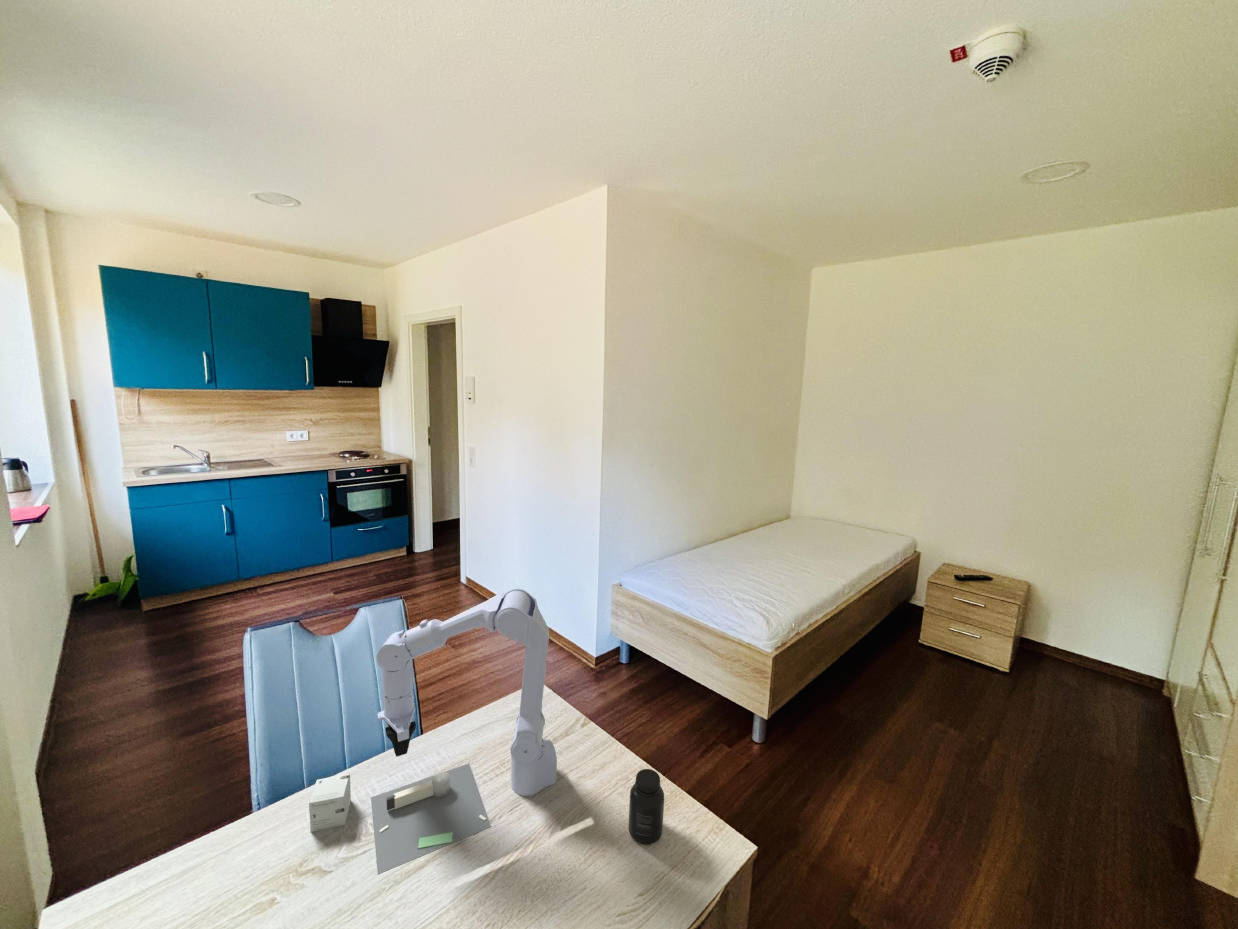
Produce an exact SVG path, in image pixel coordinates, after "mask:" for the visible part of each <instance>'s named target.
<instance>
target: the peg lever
mask: <svg viewBox="0 0 1238 929" xmlns="http://www.w3.org/2000/svg"><path fill="white" fill-rule="evenodd" d="M434 775H435V776H434ZM434 775H433V776H434V777H433V778H432V780H431V781H429V782H426V783H423V784H420V785H417V786H414V787H411V788H409V789H406V790H403V791H400V792H397V793H394V795H393V796H390V797H387V798H386V801H387V810H390V809H393V808H395V809H397V808H400V807H402V806H405V805H408V804H411V803H413V802H416V801H419V800H422V799H424V798H427V797H430V796H433V797H434V798H443V797H445V796H447V795H448V794H449V792H450V775H449V774H448V773H446V771H441V772H438V773H436V774H434Z"/></svg>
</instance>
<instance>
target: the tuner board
mask: <svg viewBox="0 0 1238 929" xmlns="http://www.w3.org/2000/svg"><path fill="white" fill-rule="evenodd" d="M470 764H471V763H466V764H464V765H460V766H457V767H454V768H451V769H449V770H446V771H445V772H446V773H448V774H449V775H450V792H449V794H448V795H447V796H445V797H443V798H434V797H433V796H430V797H427V798H424V799H422V800H419V801H416V802H413V803H411V804H408V805H405V806H402V807H400V808H397V809H395V808H393V809H390V810H387V801H386V798H387V797H390V796H393V795H394V793H397V792H400V791H403V790H406V789H409V788H411V787H414V786H417V785H420V784H423V783H426V782H429V781H431V780H432V778H433V777H434V776H435V775H436V774H434V775H431V776H429V777H425V778H422V779H421V780H417V781H414V782H411V783H409V784H405V785H403V786H400V787H397V788H394V789H391V790H389V791H385V792H383V793H380V794H377V795H373V796H372V797H370V801H371V811H372V812H371V815H372V824H373V825H372V826H373V835H374V845H375V846H374V847H375V848H374V849H375V858H376V860H375V861H376V869H377V870H376V872H377V875H380V874H382V873H384V872H385V873H386V872H387V871H390V870H391V869H394V868H396V867H400V866H401V865H404V864H406V863H409V862H411V861H414V860H415V859H418V858H421V857H422V856H423V857H424V856H425V855H427V854H430V853H432V852H434V851H437V850H440V849H441V848H444V847H447V846H448V845H451V844H453V843H456V842H458V841H462V840H464V839H466V838H468V837H470V836H473V835H475V834H477V833H479V832H482V831H484V830H487V829H489V828H491V827H492V826H491V822H490V819H489V817H488V813H487V811H486V808H485V805H484V803H483V799H482V795H481V794H480V790H479V787H478V784H477V782H476V779H475V777H474V773H473V771H472V767H471V765H470Z"/></svg>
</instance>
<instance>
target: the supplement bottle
mask: <svg viewBox="0 0 1238 929" xmlns="http://www.w3.org/2000/svg"><path fill="white" fill-rule="evenodd" d="M628 810H629V811H628V832H629V835H630V837H631V838H632V839H633V841H635V842H636V843H638V844H640V845H644V846H649V845H653V844H656V843H657V842H658V841H659V840H660V839H661V837H662V835H663V828H664V827H663V826H664V813H665V812H664V811H665V792H664V790H663V788H662V786H661V777H660V775H659V773H658V772H657V771H655V770H654V769H652V768H651V769H650V768H644V769H640V770H639V771H637V773H636V775H635V783H633V785H632V786H631V788H630V792H629V807H628Z"/></svg>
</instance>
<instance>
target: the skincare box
mask: <svg viewBox="0 0 1238 929" xmlns="http://www.w3.org/2000/svg"><path fill="white" fill-rule="evenodd" d="M351 793H352V792H351V774H350V773H346V774H341V775H332V776H329V777H324V778H319V779H317V780H316V781H315V784H314V788H313V790H312V793H311V797H310V800H309V802H308V812H309V825H310V826H309V827H310V833H312V832H316V831H322V830H325V829H330V828H331V829H332V828H336V827H340V826H345V825H346V822H347V819H348V815H349V810H350V807H351V801H352V800H351V799H352V798H351V797H352V795H351Z"/></svg>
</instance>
